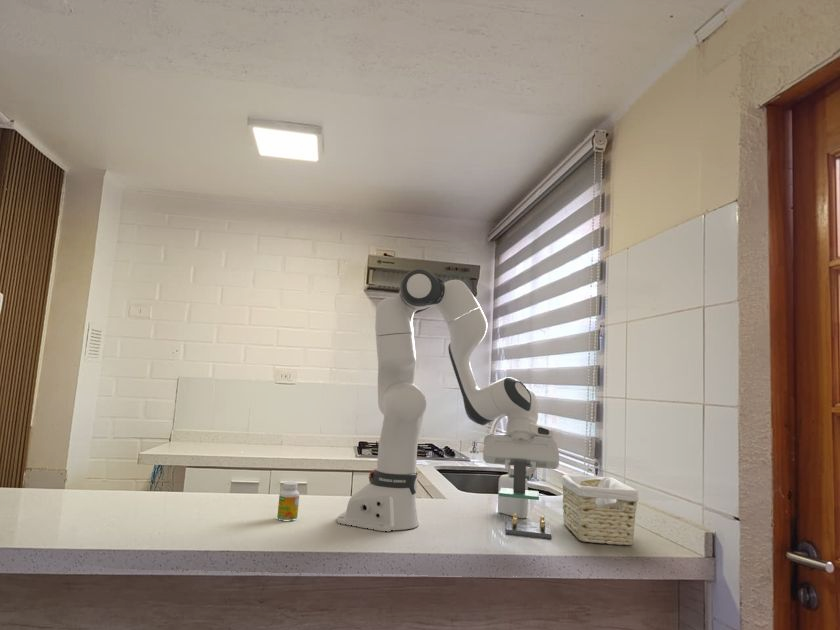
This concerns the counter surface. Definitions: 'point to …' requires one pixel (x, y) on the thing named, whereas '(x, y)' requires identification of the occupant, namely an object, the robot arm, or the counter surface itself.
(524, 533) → the chassis
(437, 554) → the counter surface
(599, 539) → the storage basket
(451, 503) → the counter surface
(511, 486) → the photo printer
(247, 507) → the counter surface
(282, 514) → the supplement bottle
